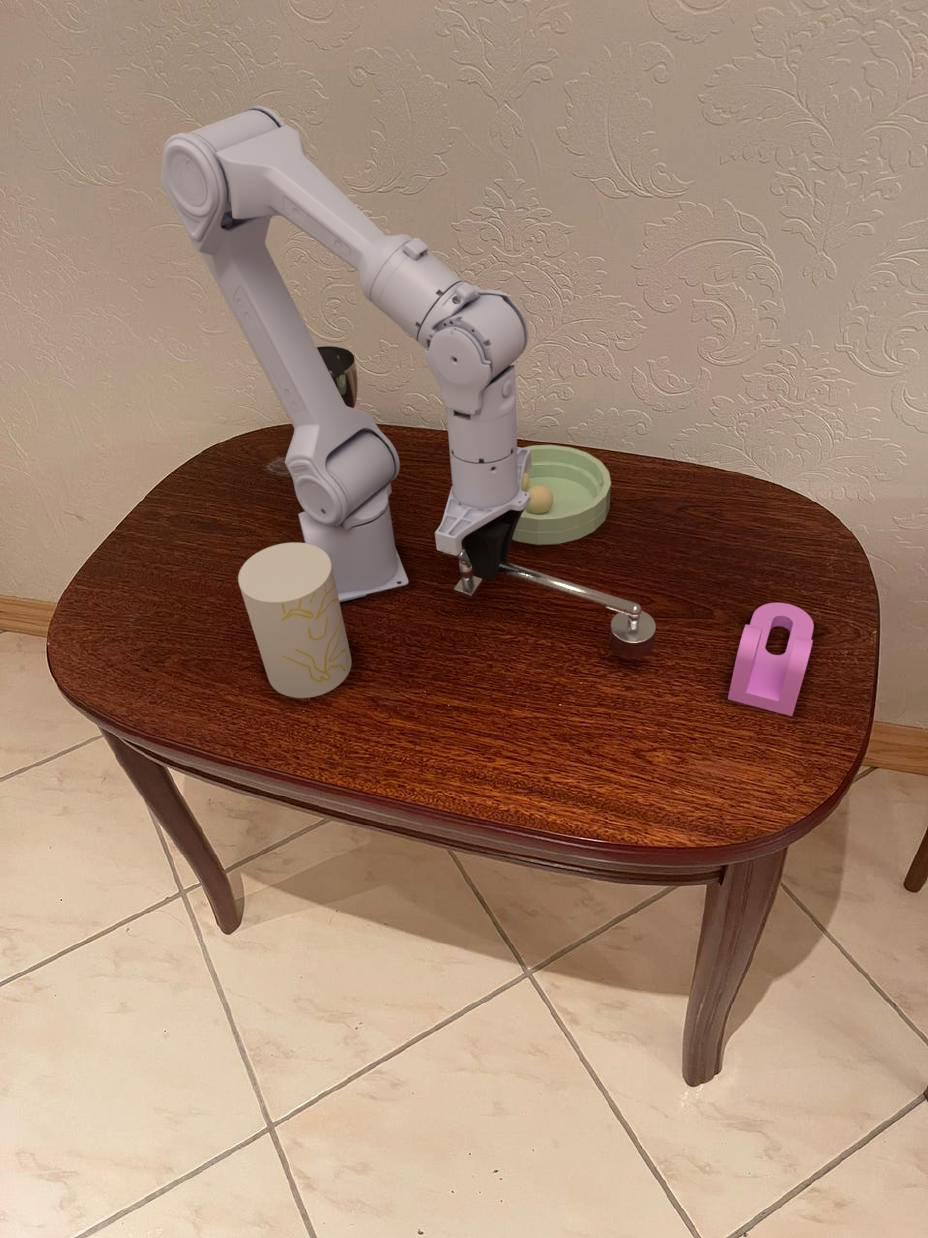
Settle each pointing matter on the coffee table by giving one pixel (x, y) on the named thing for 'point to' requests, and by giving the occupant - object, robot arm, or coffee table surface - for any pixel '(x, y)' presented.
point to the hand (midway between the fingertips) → (490, 570)
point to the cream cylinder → (296, 618)
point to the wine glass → (342, 372)
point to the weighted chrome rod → (628, 627)
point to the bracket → (772, 659)
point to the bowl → (565, 496)
